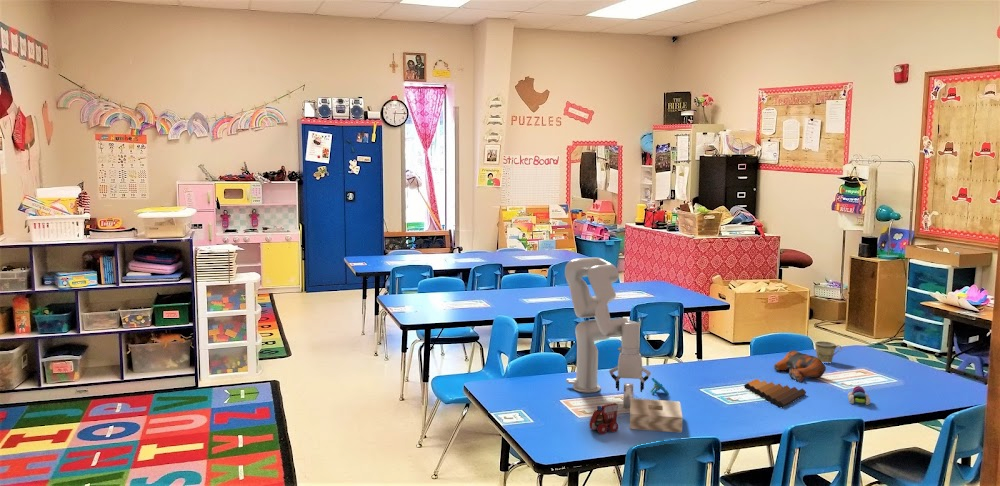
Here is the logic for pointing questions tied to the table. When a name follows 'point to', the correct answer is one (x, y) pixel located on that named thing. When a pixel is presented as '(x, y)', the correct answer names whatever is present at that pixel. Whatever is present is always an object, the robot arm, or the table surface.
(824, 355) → the ceramic cup
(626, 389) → the steel peg
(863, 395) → the multicoloured small arched block
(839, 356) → the table surface
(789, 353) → the orange lumpy piece
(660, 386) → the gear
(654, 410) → the hole block
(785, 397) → the pan flute
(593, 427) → the toy fire truck
